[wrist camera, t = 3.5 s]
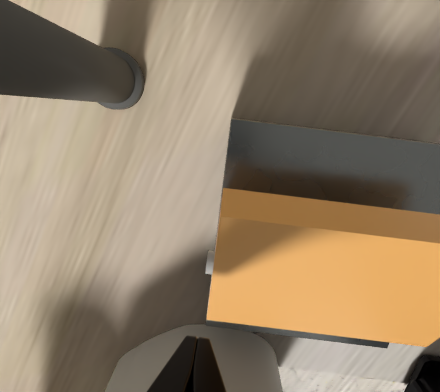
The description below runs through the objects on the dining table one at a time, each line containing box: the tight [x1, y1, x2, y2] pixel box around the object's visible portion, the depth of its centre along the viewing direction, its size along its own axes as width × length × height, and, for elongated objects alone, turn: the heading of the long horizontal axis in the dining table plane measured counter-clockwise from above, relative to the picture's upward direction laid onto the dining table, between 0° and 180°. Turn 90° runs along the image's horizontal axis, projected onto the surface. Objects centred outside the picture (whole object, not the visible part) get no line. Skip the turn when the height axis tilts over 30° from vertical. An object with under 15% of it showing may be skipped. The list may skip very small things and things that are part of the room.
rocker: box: [205, 188, 440, 347], centre depth 11 cm, size 12×7×2 cm, turn 83°
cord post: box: [0, 0, 144, 109], centre depth 9 cm, size 3×3×10 cm
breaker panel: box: [205, 118, 440, 348], centre depth 14 cm, size 11×12×4 cm
